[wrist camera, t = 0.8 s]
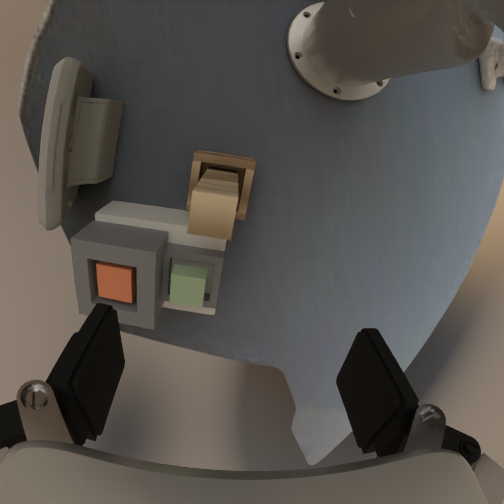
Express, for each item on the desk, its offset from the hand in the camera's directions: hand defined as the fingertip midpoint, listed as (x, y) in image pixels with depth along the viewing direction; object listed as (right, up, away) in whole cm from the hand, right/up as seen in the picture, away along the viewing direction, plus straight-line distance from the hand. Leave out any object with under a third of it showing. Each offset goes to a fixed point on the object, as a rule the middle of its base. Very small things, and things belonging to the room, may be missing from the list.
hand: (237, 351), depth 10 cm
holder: (-3, +11, +20) cm, 24 cm away
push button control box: (-10, +4, +23) cm, 26 cm away
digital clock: (-18, +17, +17) cm, 30 cm away
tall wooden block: (-3, +11, +19) cm, 23 cm away
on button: (-6, +1, +18) cm, 19 cm away
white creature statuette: (+36, +32, +13) cm, 50 cm away
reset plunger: (-12, +1, +16) cm, 20 cm away
